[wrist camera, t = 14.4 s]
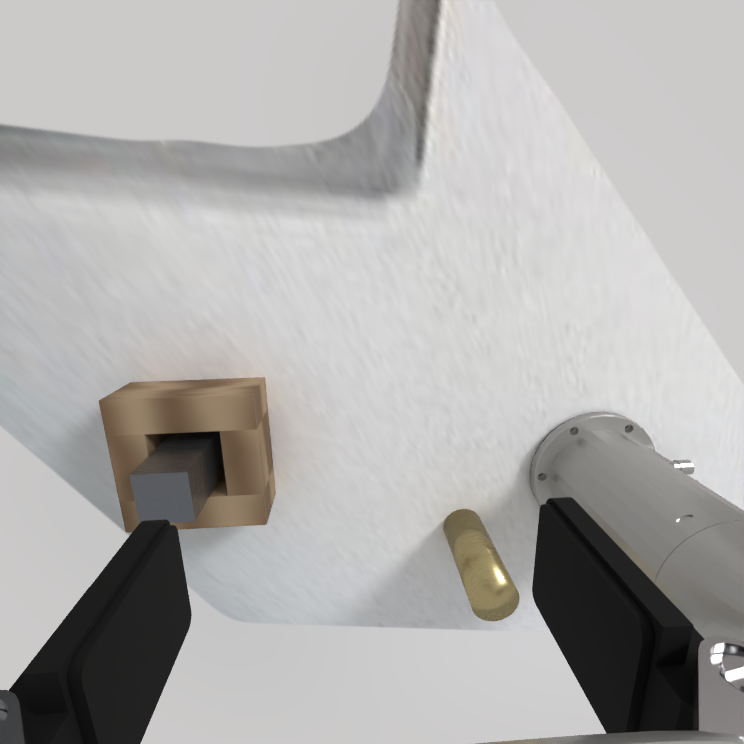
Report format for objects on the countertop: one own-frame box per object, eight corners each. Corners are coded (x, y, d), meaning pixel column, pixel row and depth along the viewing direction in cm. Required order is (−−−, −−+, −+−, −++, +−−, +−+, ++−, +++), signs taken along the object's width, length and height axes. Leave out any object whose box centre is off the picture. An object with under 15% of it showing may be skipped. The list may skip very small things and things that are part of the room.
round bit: (482, 508, 43) (521, 579, 34) (480, 541, 44) (517, 619, 35) (443, 510, 43) (472, 582, 34) (443, 543, 44) (470, 622, 35)
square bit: (226, 419, 39) (187, 472, 29) (231, 458, 40) (195, 521, 31) (182, 421, 39) (129, 475, 29) (189, 460, 40) (139, 524, 30)
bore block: (264, 377, 38) (253, 394, 33) (275, 493, 41) (266, 524, 37) (130, 382, 38) (98, 400, 33) (151, 500, 41) (125, 532, 36)
